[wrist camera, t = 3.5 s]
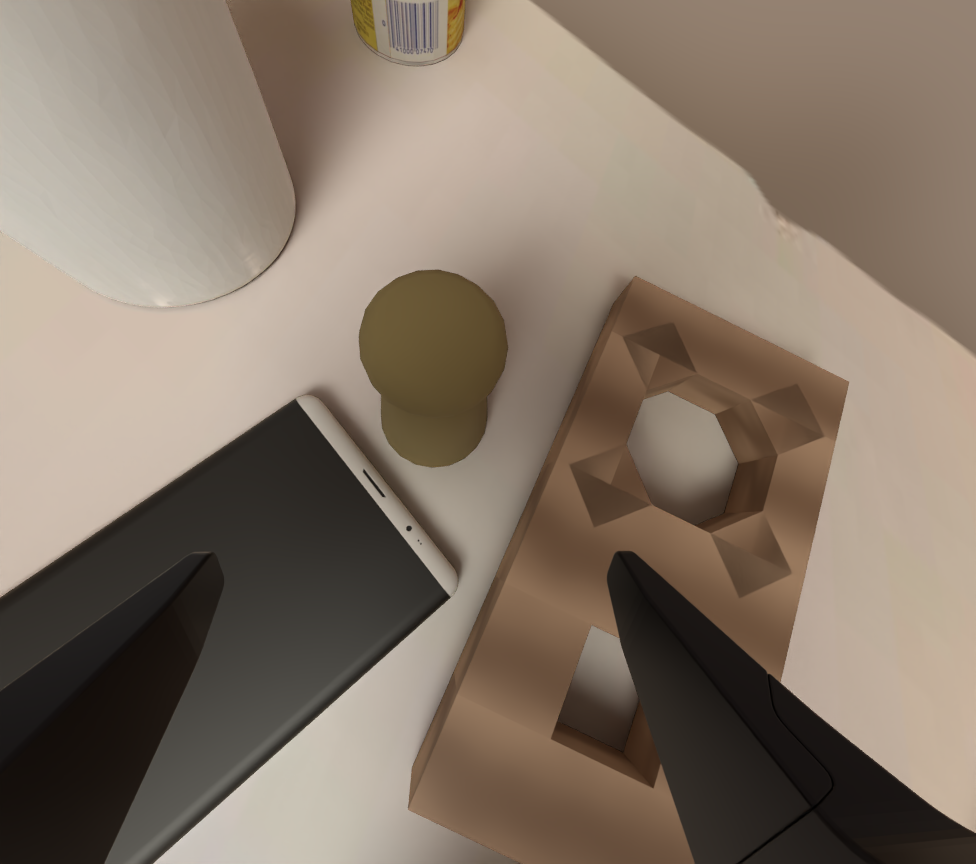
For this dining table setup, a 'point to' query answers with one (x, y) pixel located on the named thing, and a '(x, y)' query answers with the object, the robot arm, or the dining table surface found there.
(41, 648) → the smartphone
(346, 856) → the dining table surface
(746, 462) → the bore caddy
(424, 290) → the cork
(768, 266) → the dining table surface
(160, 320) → the dining table surface
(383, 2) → the canned food
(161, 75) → the utensil holder
